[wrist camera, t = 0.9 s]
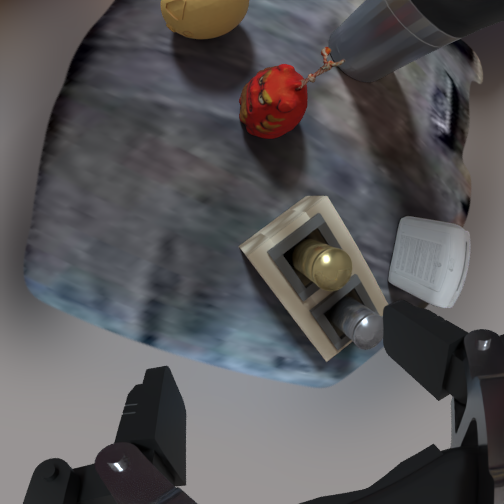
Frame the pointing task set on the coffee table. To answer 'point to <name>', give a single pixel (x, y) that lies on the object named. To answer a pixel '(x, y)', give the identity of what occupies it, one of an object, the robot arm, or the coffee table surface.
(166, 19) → the stress ball
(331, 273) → the peg brass
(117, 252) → the coffee table surface
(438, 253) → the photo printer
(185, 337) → the coffee table surface
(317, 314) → the birch block
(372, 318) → the peg steel
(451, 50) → the coffee table surface
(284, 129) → the red clay folk toy
